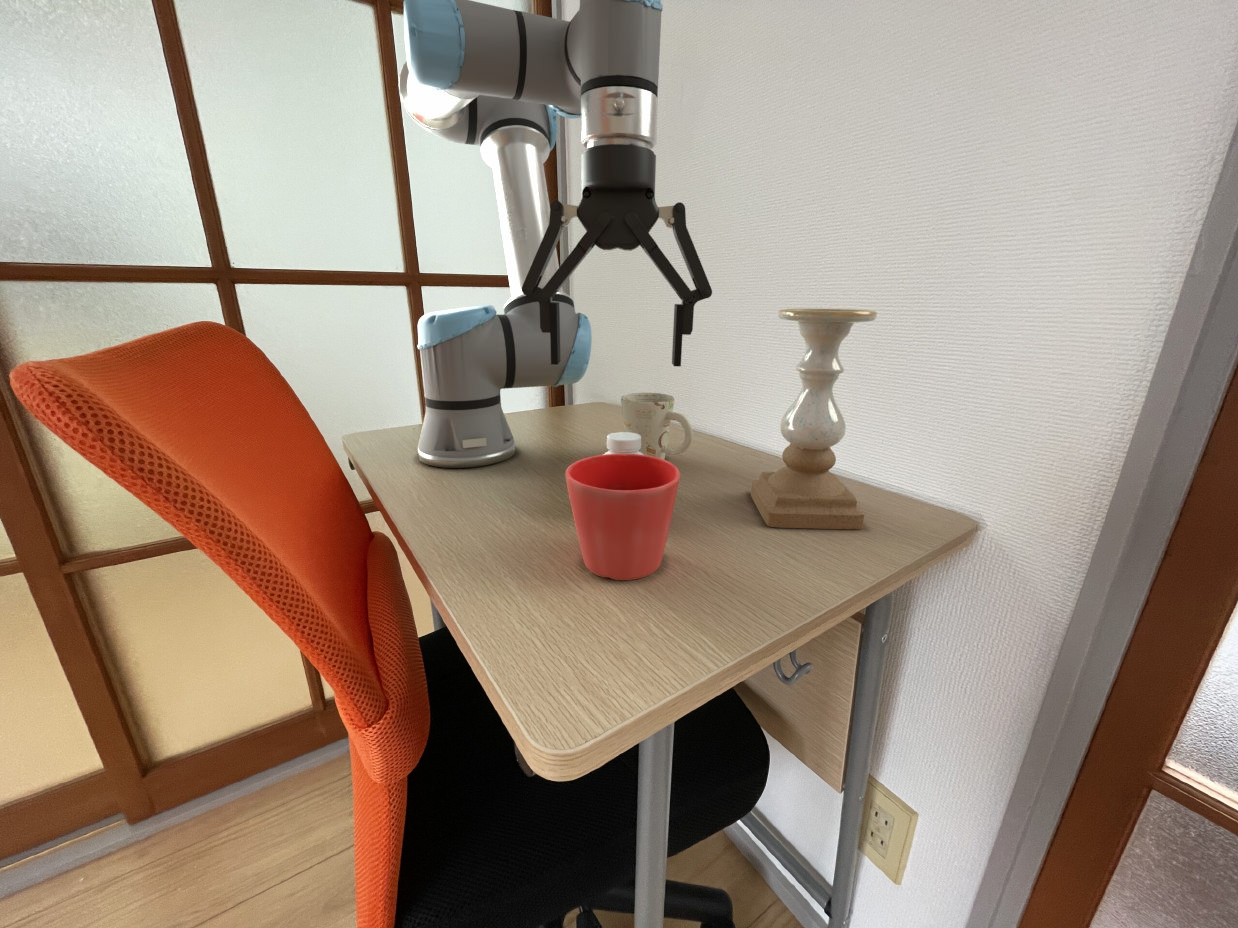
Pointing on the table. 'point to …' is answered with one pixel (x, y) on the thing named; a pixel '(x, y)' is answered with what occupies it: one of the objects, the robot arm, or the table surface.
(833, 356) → the candle holder
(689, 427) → the mug
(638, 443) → the supplement bottle
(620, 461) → the flower pot
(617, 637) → the table surface
